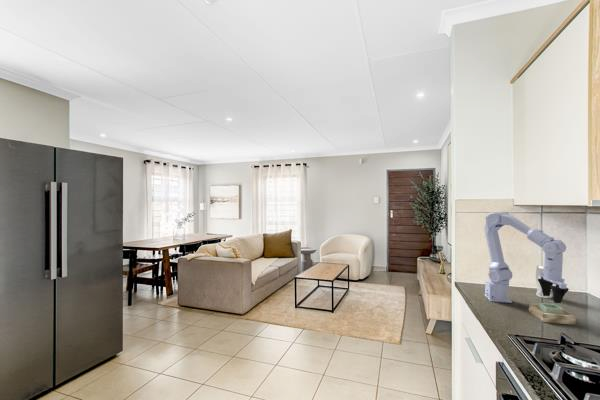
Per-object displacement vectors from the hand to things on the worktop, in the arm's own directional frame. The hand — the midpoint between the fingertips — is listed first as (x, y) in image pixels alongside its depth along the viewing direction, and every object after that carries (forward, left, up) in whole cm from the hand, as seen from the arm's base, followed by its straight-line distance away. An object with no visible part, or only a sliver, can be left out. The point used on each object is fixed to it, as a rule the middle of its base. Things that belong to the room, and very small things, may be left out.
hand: (551, 299), depth 123 cm
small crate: (0, 0, -8) cm, 8 cm away
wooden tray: (0, 0, -8) cm, 8 cm away
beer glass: (+11, +27, -8) cm, 30 cm away
